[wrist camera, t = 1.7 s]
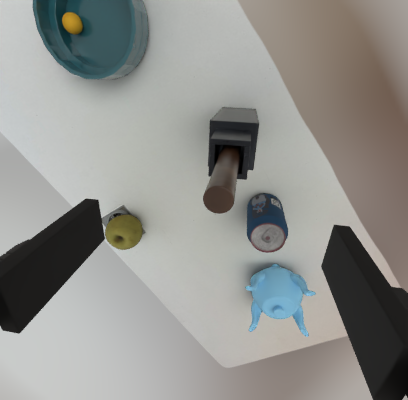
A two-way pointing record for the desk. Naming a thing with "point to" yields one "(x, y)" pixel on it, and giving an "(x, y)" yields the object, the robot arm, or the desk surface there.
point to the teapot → (278, 295)
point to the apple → (124, 232)
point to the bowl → (94, 35)
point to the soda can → (266, 223)
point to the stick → (223, 181)
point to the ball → (72, 23)
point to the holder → (234, 137)
